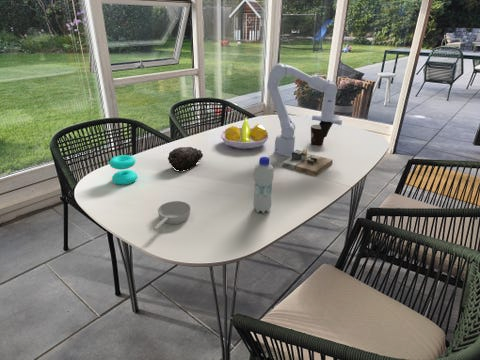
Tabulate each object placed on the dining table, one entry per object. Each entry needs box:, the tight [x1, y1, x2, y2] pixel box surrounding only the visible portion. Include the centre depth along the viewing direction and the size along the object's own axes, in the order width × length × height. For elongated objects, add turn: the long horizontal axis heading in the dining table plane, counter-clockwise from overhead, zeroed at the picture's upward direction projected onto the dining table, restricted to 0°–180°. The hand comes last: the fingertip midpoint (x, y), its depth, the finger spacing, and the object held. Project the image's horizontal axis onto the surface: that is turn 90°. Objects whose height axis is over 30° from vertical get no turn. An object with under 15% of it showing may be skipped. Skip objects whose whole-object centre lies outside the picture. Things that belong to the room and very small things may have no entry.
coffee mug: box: [310, 123, 325, 147], centre depth 179 cm, size 12×9×10 cm
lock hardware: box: [291, 149, 317, 164], centre depth 152 cm, size 11×5×3 cm, turn 52°
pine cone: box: [167, 146, 204, 172], centre depth 148 cm, size 10×18×10 cm, turn 152°
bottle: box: [253, 156, 274, 214], centre depth 110 cm, size 7×7×20 cm
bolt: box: [300, 149, 308, 160], centre depth 153 cm, size 7×2×5 cm, turn 52°
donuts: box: [108, 154, 138, 185], centre depth 133 cm, size 10×10×10 cm
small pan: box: [153, 200, 191, 230], centre depth 105 cm, size 11×18×4 cm, turn 163°
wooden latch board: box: [281, 152, 334, 177], centre depth 152 cm, size 17×18×2 cm
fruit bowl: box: [220, 117, 270, 150], centre depth 176 cm, size 28×27×11 cm
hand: (324, 136), depth 158 cm, fingers closed
